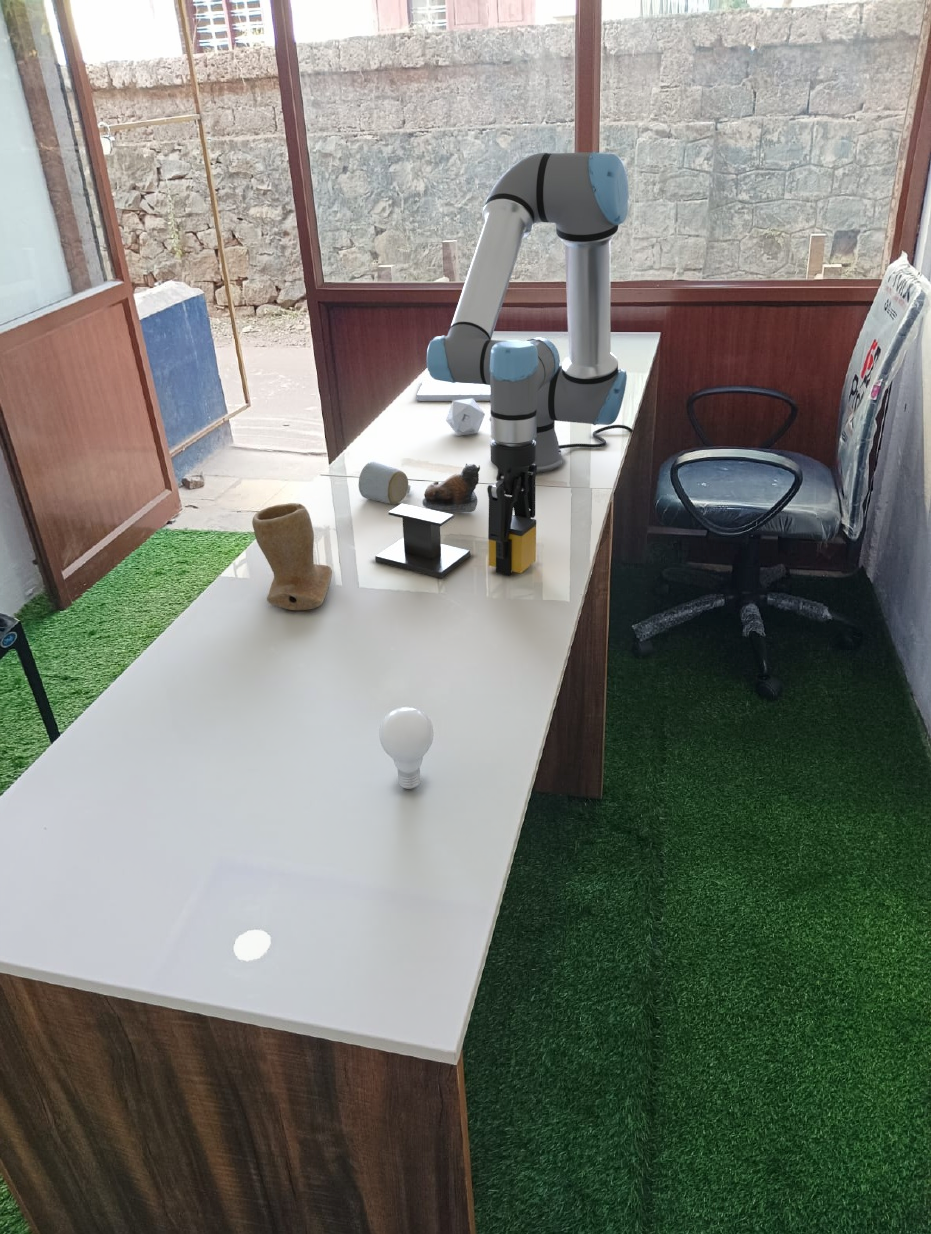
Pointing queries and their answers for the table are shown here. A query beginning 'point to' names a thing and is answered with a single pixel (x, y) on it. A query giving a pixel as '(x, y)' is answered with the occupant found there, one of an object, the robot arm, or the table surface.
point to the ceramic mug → (383, 483)
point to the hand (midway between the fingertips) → (512, 565)
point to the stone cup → (291, 557)
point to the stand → (422, 543)
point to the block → (519, 544)
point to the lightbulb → (406, 742)
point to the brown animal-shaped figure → (454, 492)
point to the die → (465, 417)
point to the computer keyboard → (452, 391)
